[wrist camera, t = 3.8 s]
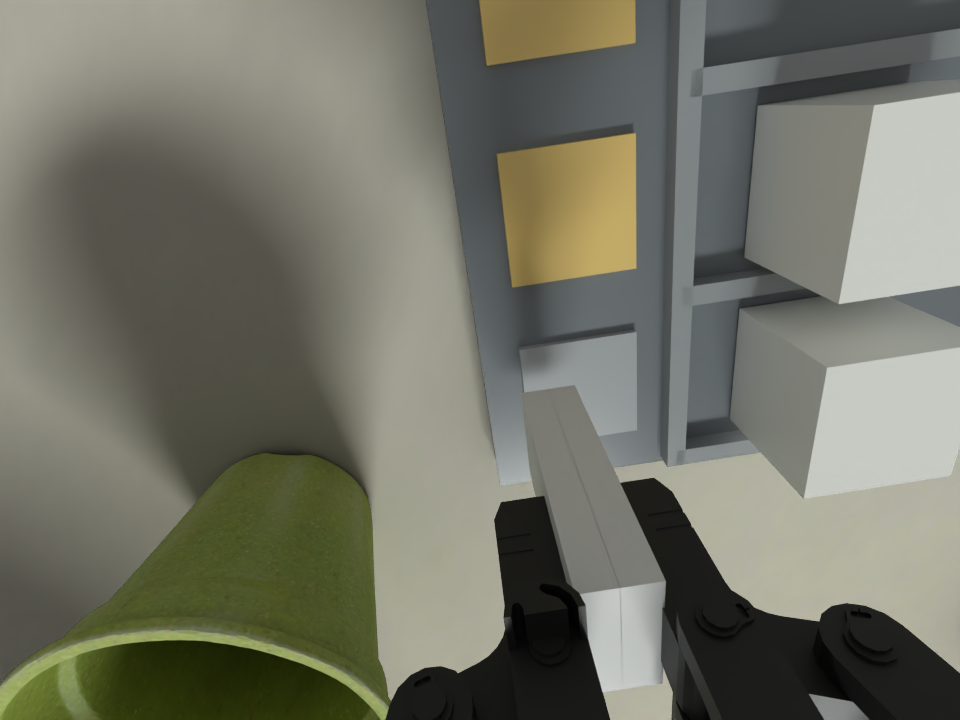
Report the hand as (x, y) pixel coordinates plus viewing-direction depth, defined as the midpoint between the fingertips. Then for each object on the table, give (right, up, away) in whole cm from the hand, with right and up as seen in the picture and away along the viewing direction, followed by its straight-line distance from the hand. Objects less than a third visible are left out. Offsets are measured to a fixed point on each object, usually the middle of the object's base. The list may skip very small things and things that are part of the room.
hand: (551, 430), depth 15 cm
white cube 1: (+8, +2, +2) cm, 9 cm away
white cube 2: (+7, +7, 0) cm, 10 cm away
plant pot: (-9, -4, +5) cm, 11 cm away
